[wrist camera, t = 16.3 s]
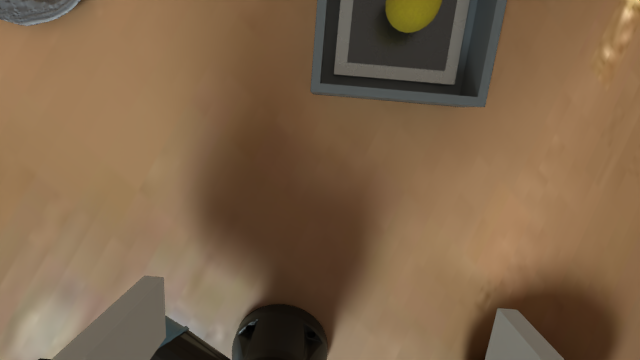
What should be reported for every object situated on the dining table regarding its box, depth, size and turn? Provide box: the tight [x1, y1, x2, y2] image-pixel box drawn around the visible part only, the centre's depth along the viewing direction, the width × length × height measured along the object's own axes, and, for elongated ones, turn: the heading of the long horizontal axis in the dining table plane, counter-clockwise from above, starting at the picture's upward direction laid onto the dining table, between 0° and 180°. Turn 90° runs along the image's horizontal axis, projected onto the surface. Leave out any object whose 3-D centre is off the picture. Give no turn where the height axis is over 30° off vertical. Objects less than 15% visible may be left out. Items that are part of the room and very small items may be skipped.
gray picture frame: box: [334, 0, 470, 85], centre depth 36 cm, size 15×15×1 cm
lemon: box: [386, 0, 442, 33], centre depth 32 cm, size 6×6×8 cm
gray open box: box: [311, 0, 507, 107], centre depth 35 cm, size 20×20×7 cm
